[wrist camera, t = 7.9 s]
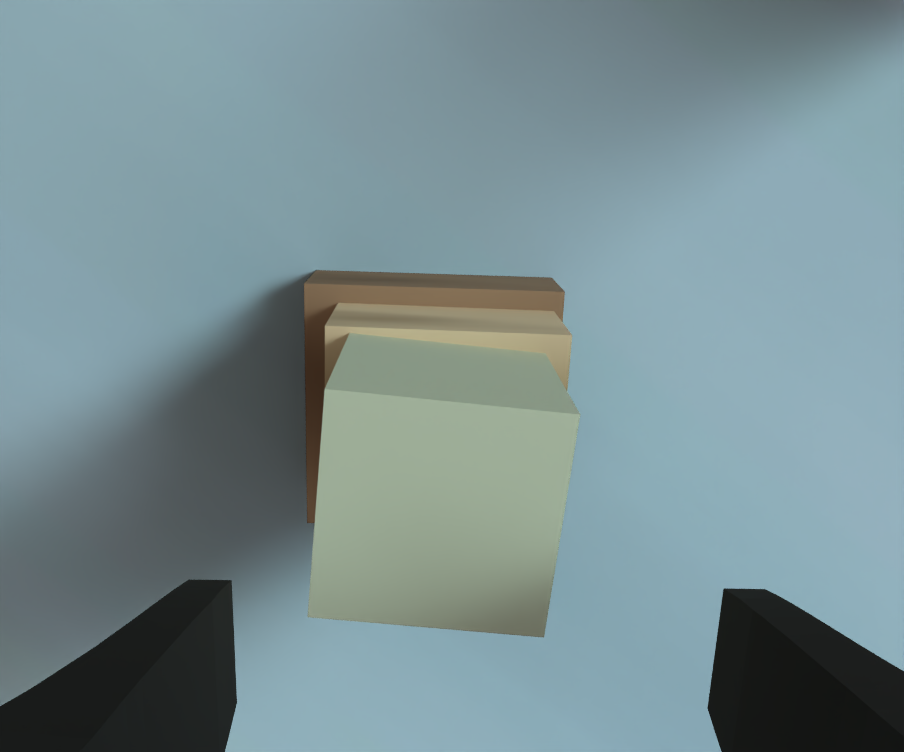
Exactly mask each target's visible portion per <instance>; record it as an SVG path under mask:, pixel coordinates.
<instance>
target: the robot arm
mask: <svg viewBox="0 0 904 752" xmlns="http://www.w3.org/2000/svg"><path fill="white" fill-rule="evenodd" d="M236 704H237V696H236V673H235V650H234V626H233V603H232V580H188V581H186V582H185V583H183V584H182V585H180V586H179V587H177V588H176V589H174V590H173V591H171V592H170V593H169V594H167V595H166V596H164V597H163V598H162V599H160V600H159V601H158V602H156V603H155V604H154V605H152V606H151V607H150V608H148V609H147V610H145V611H144V612H143V613H141V614H140V615H139V616H137V617H136V618H135V619H133V620H132V621H130V622H129V623H128V624H126V625H125V626H123V627H122V628H121V629H119V630H118V631H117V632H115V633H114V634H112V635H111V636H110V637H108V638H107V639H105V640H104V641H103V642H101V643H100V644H98V645H97V646H96V647H94V648H93V649H91V650H90V651H88V652H87V653H85V654H83V655H82V656H80V657H79V658H77V659H76V660H74V661H73V662H71V663H70V664H68V665H67V666H65V667H64V668H62V669H60V670H59V671H57V672H56V673H54V674H53V675H51V676H50V677H48V678H47V679H45V680H44V681H42V682H41V683H39V684H37V685H36V686H34V687H33V688H31V689H29V690H28V691H26V692H24V693H23V694H21V695H19V696H17V697H16V698H14V699H12V700H11V701H9V702H7V703H5V704H4V705H2V706H0V752H225V749H226V745H227V741H228V737H229V733H230V729H231V725H232V720H233V716H234V712H235V708H236ZM708 711H709V714H710V717H711V720H712V724H713V727H714V730H715V733H716V736H717V739H718V742H719V745H720V748H721V751H722V752H904V671H902V670H901V669H899V668H897V667H895V666H894V665H892V664H890V663H889V662H887V661H885V660H884V659H882V658H880V657H879V656H877V655H875V654H874V653H872V652H870V651H869V650H867V649H865V648H864V647H862V646H860V645H859V644H857V643H856V642H854V641H852V640H851V639H849V638H847V637H846V636H844V635H843V634H841V633H839V632H838V631H836V630H834V629H833V628H831V627H830V626H828V625H826V624H825V623H823V622H822V621H820V620H818V619H817V618H815V617H813V616H812V615H810V614H809V613H807V612H805V611H804V610H802V609H800V608H799V607H797V606H795V605H794V604H792V603H790V602H788V601H787V600H785V599H783V598H781V597H779V596H777V595H776V594H773V593H771V592H769V591H767V590H765V589H724V590H723V597H722V605H721V612H720V620H719V627H718V635H717V642H716V649H715V657H714V664H713V672H712V679H711V687H710V694H709V702H708Z"/></svg>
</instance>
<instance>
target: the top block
mask: <svg viewBox="0 0 904 752" xmlns="http://www.w3.org/2000/svg"><path fill="white" fill-rule="evenodd" d="M579 419H580V413H579V412H578V410H577V408H576V406H575V405H574V403H573V401H572V399H571V397H570V396H569V394H568V392H567V390H566V389H565V387H564V385H563V383H562V382H561V380H560V378H559V376H558V374H557V373H556V371H555V369H554V367H553V366H552V364H551V362H550V360H549V358H548V357H547V355H546V353H538V352H528V351H518V350H509V349H499V348H490V347H480V346H471V345H461V344H451V343H442V342H432V341H423V340H413V339H404V338H394V337H384V336H375V335H365V334H356V333H349V336H348V338H347V340H346V342H345V345H344V347H343V349H342V351H341V354H340V356H339V358H338V360H337V362H336V365H335V367H334V369H333V371H332V374H331V376H330V378H329V380H328V383H327V385H326V387H325V391H324V405H323V418H322V432H321V445H320V458H319V472H318V485H317V499H316V512H315V525H314V539H313V552H312V566H311V579H310V592H309V606H308V617H312V618H323V619H335V620H347V621H358V622H370V623H382V624H393V625H405V626H417V627H428V628H440V629H452V630H463V631H475V632H487V633H498V634H510V635H522V636H533V637H544V634H545V628H546V621H547V615H548V609H549V603H550V597H551V591H552V585H553V578H554V572H555V566H556V560H557V554H558V548H559V542H560V535H561V529H562V523H563V517H564V511H565V505H566V499H567V493H568V486H569V480H570V474H571V468H572V462H573V456H574V450H575V443H576V437H577V431H578V425H579Z"/></svg>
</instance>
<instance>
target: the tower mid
mask: <svg viewBox="0 0 904 752" xmlns="http://www.w3.org/2000/svg"><path fill="white" fill-rule="evenodd" d="M349 333H356V334H365V335H375V336H384V337H394V338H404V339H413V340H423V341H432V342H442V343H451V344H461V345H471V346H480V347H490V348H499V349H509V350H518V351H528V352H538V353H546V355H547V357H548V358H549V360H550V362H551V364H552V366H553V367H554V369H555V371H556V373H557V374H558V376H559V378H560V380H561V382H562V383H563V385H564V387H565V389H566V390H567V387H568V376H569V364H570V353H571V341H572V335H571V333H570V332H569V331H568V329H567V328H566V326H565V325H564V324H563V322H562V321H561V320H560V318H559V317H558V316H557V314H556V313H555V312H554V311H538V310H513V309H487V308H461V307H435V306H410V305H384V304H358V303H338V304H337V306H336V308H335V309H334V311H333V313H332V315H331V316H330V318H329V320H328V321H327V323H326V325H325V387H326V385H327V383H328V380H329V378H330V376H331V374H332V371H333V369H334V367H335V365H336V362H337V360H338V358H339V356H340V354H341V351H342V349H343V347H344V345H345V342H346V340H347V338H348V336H349Z"/></svg>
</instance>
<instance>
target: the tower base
mask: <svg viewBox="0 0 904 752" xmlns="http://www.w3.org/2000/svg"><path fill="white" fill-rule="evenodd" d="M564 294H565V292H564V291H563V289H562V288H561V287H560V286H559V285H558V284H557V283H556V282H555V281H554V280H553V279H552V278H545V277H514V276H482V275H451V274H420V273H388V272H357V271H326V270H316V271H315V272H314V273H313V274H312V275H311V277H310V278H309V279H308V280H307V281H306V282H305V283H304V320H305V394H306V467H307V523H315V512H316V499H317V485H318V472H319V458H320V445H321V432H322V418H323V405H324V391H325V325H326V323H327V321H328V320H329V318H330V316H331V315H332V313H333V311H334V309H335V308H336V306H337V304H338V303H358V304H384V305H410V306H435V307H461V308H487V309H513V310H538V311H554V312H555V313H556V314H557V316H558V317H559V318H560V320H561V321H563V308H564Z"/></svg>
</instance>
